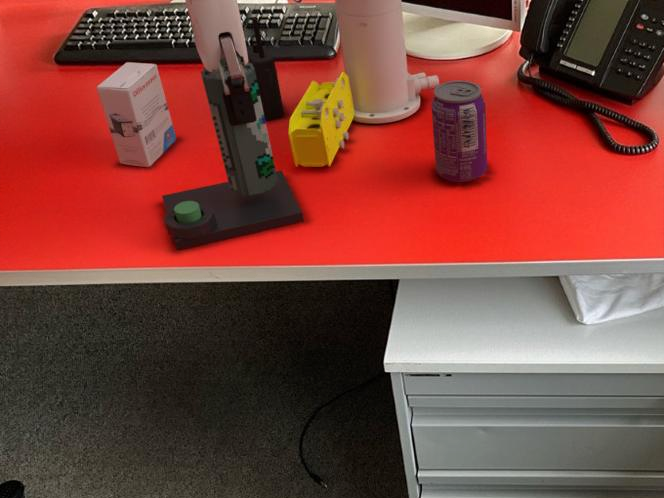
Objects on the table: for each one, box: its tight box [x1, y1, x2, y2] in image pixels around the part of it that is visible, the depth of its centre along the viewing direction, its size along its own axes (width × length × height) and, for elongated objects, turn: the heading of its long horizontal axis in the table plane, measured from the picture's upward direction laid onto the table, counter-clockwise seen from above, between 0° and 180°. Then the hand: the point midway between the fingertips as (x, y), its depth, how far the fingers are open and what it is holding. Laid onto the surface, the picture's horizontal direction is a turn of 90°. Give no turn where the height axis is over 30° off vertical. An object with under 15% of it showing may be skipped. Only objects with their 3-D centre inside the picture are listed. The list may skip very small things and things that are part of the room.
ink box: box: [96, 61, 177, 168], centre depth 126 cm, size 9×5×12 cm, turn 168°
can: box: [200, 61, 278, 195], centre depth 111 cm, size 6×6×15 cm
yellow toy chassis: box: [287, 71, 354, 168], centre depth 128 cm, size 16×6×8 cm, turn 174°
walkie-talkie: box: [247, 16, 285, 121], centre depth 134 cm, size 5×3×15 cm
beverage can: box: [430, 80, 488, 183], centre depth 120 cm, size 7×7×12 cm
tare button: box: [174, 201, 202, 223], centre depth 111 cm, size 3×3×2 cm
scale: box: [161, 169, 305, 251], centre depth 116 cm, size 16×12×3 cm
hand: (237, 110), depth 109 cm, fingers closed on can, 6 cm apart
